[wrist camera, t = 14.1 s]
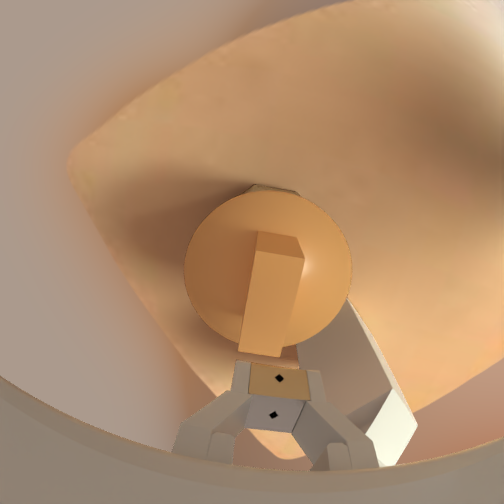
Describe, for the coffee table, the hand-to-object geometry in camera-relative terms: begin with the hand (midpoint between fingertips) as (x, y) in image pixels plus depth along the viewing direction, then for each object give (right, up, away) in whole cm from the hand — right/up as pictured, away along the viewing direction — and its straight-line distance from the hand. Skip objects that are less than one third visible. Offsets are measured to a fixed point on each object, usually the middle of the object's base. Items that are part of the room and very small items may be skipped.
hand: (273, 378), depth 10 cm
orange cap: (0, +4, +12) cm, 12 cm away
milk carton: (+9, -5, +23) cm, 25 cm away
